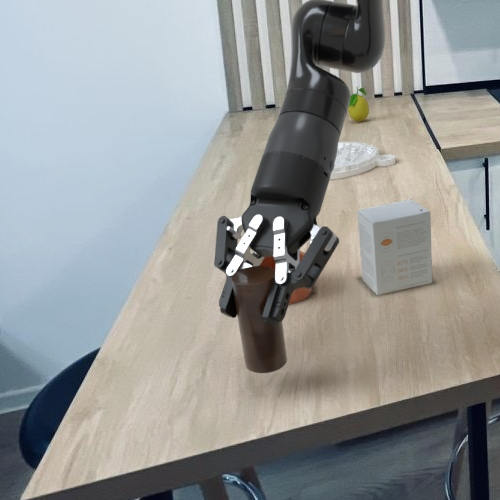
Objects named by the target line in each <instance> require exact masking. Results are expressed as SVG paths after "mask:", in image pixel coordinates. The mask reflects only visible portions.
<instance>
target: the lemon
mask: <svg viewBox="0 0 500 500" xmlns="http://www.w3.org/2000/svg"><path fill="white" fill-rule="evenodd" d="M358 87H359V86H356V93H353V94H351V98H350V104H349V108H348V112H347V113H348V116H349V117H350V119H352V120H353V121H356V122H357V123H361V122H362V121H363V120H365V119H367V118H368V116H369V113H370V106H369V103H368V101H367V99H366V98H365V97H364V96H367V92H366V89H365V88H364V87H360V88H359V89H358ZM359 92H360V93H361V94H362V95H364V96H362V95H360V94H359Z"/></svg>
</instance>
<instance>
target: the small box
mask: <svg viewBox="0 0 500 500" xmlns="http://www.w3.org/2000/svg"><path fill="white" fill-rule="evenodd" d="M431 218H432V217H431V211H430V210H428V209H427V208H425V207H424V206H423V205H421V204H419V203H418V202H416V201H415V200H413V199H411V198H410V199H406V200H401V201H396V202H391V203H387V204H386V203H385V204H381V205H376V206H372V207H367V208H363V209H358V210H357V224H358V236H359V237H358V238H359V239H358V240H359V251H360V265H361V278H362V281H363V282H364V283H365V284H366V285H367V286H368V287H369V288H370V289H371V290H372V291H373V293H375V294H376V295H377V296H380V295H383V294H388V293H393V292H398V291H402V290H406V289H407V290H408V289H411V288H416V287H421V286H425V285H430V284H433V258H432V257H433V255H432V223H431Z"/></svg>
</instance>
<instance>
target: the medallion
mask: <svg viewBox="0 0 500 500" xmlns="http://www.w3.org/2000/svg"><path fill="white" fill-rule="evenodd" d="M395 164H396V156H395V155H394V154H380V152H379V150H378V147H375V146H374V144H368V143H367V142H359V141H346V140H345V141H339V142H338V149H337V155H336V160H335V163H334V169H333V171H332V173H331V177H330V180H337V179H342V178H343V179H344V178H347V177H352V176H356V175H359V174H363V173H365V172H368V171H370V170H372V169H374V168H375V167H389V166H392V165H395Z"/></svg>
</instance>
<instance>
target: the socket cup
mask: <svg viewBox="0 0 500 500" xmlns="http://www.w3.org/2000/svg"><path fill="white" fill-rule="evenodd" d="M305 253H306V252H304V251H301V250H300V261H301V259H302V258H303V256H304V254H305ZM259 266H266V267H270V268H272V269H274V271H275V273H276V263H275V261H274V256H271V257H265V258H264V259H263V261H262V263H261V264H260V265H259ZM312 292H313V287H312V288H310V289H307V288H305V287H303V288H298V289H296V290H295V291H293V292H292V295H291V298H290V301H289V305H291V304H296V303H299V302H302V301H303V300H305V299H307V298H308V297H309V296H310V295H311V294H312Z"/></svg>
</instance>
